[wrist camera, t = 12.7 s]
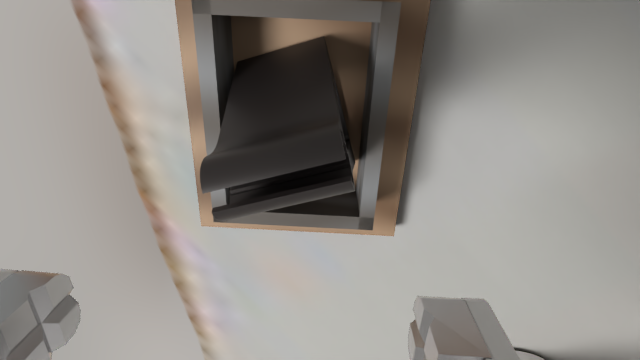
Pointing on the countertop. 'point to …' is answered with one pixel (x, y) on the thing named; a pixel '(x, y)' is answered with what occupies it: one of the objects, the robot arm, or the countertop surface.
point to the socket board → (352, 83)
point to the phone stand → (281, 134)
